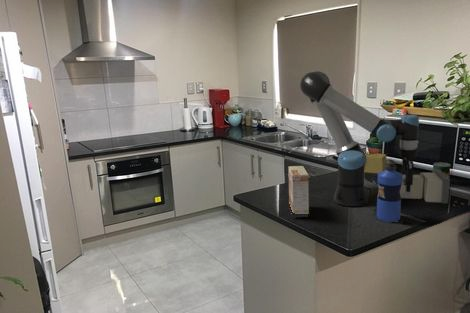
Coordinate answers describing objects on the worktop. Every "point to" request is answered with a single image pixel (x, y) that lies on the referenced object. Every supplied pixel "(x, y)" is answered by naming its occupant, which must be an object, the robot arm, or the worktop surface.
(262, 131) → the worktop surface
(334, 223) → the worktop surface
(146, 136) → the worktop surface
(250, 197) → the worktop surface
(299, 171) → the coffeecake box
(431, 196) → the beige stepped block
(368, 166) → the cheese
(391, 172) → the water bottle
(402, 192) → the beige box
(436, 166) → the canned tomato
